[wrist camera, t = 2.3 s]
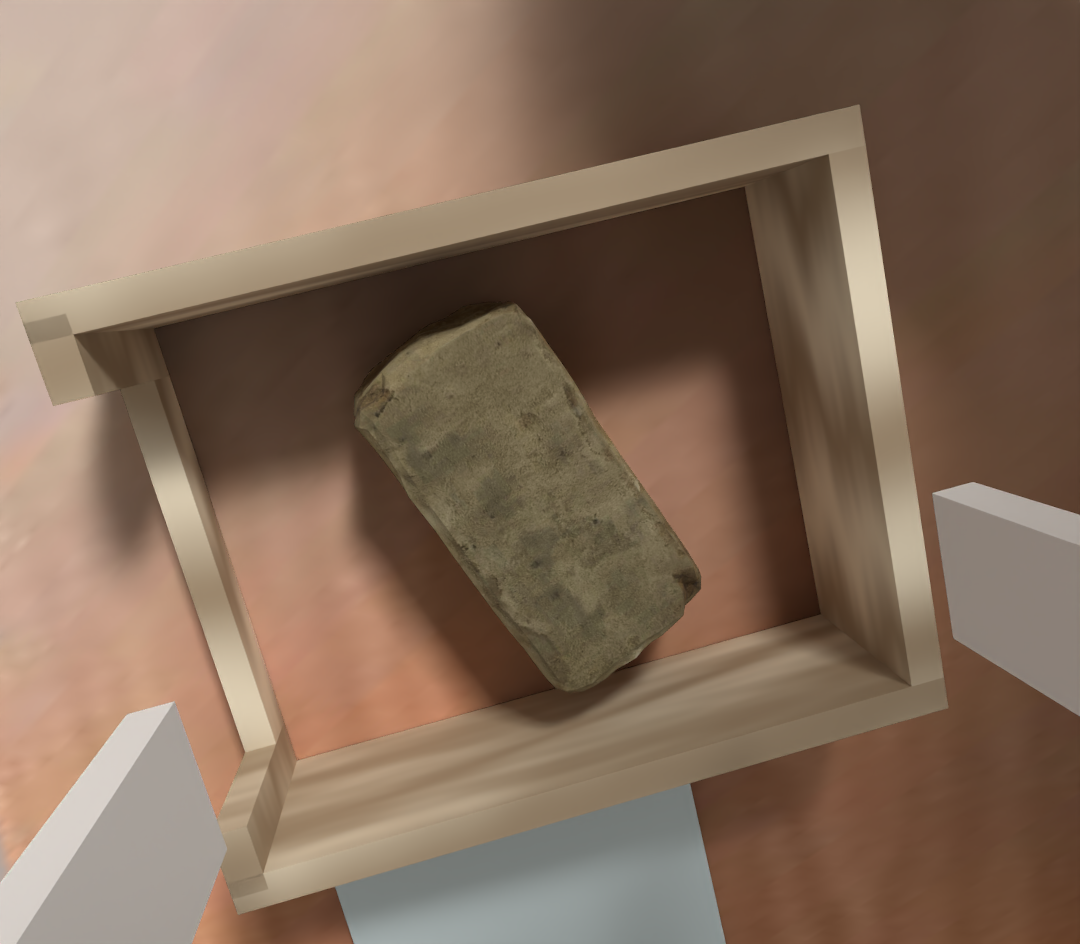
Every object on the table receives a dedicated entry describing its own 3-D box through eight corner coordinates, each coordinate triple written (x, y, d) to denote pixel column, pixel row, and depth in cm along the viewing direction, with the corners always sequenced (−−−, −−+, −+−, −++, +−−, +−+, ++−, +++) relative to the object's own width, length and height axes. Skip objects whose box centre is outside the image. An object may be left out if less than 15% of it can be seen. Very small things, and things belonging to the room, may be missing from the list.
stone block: (549, 653, 30) (571, 719, 25) (342, 386, 27) (322, 402, 23) (683, 555, 30) (732, 602, 25) (488, 279, 27) (499, 272, 23)
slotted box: (109, 303, 26) (15, 302, 20) (768, 147, 27) (859, 103, 22) (276, 794, 30) (238, 914, 24) (851, 632, 31) (948, 707, 25)
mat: (313, 811, 30) (312, 818, 29) (671, 709, 31) (674, 715, 30) (412, 1108, 33) (412, 1118, 32) (738, 1007, 33) (741, 1015, 33)
